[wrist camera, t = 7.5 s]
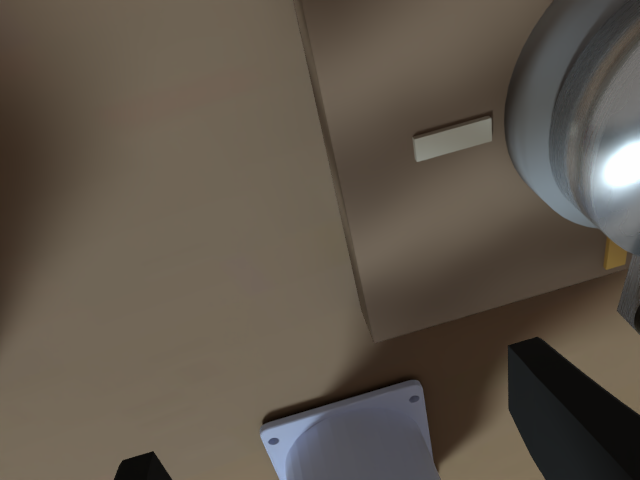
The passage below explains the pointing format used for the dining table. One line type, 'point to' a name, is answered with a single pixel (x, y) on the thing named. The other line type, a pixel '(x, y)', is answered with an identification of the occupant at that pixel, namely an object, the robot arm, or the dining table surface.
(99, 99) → the dining table surface
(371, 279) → the lock base
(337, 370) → the dining table surface
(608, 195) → the grey disc with handle
